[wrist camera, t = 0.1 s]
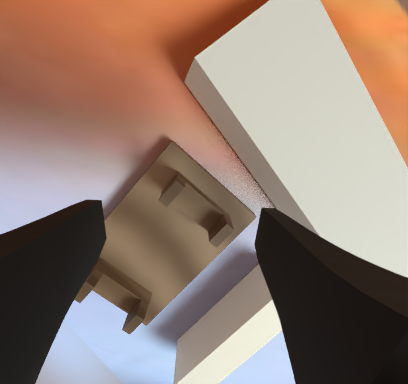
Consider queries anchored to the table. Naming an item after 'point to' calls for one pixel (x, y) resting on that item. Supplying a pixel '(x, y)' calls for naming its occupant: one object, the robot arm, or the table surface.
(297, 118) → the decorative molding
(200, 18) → the table surface
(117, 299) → the walnut rack
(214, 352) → the cream rectangular block
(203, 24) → the table surface
